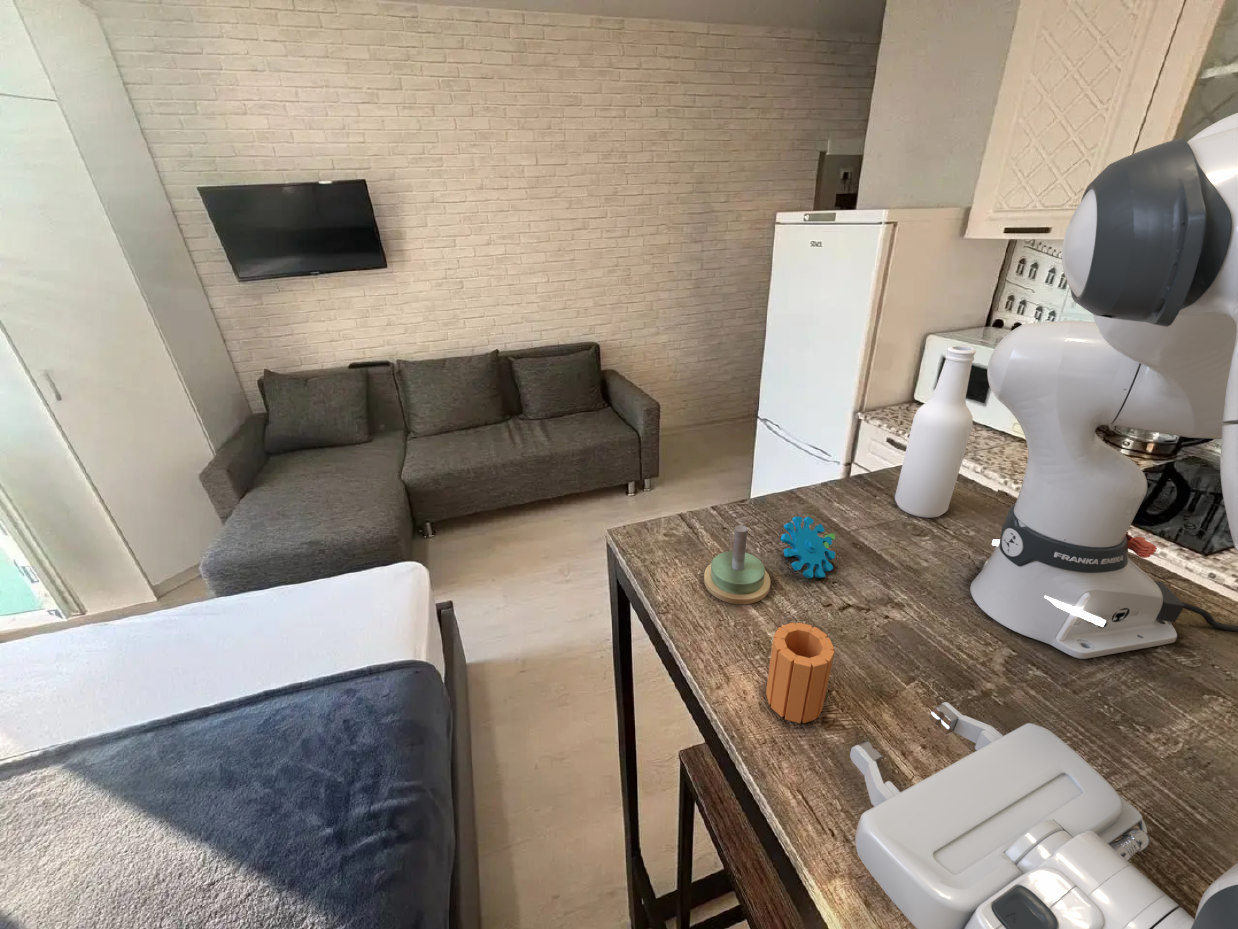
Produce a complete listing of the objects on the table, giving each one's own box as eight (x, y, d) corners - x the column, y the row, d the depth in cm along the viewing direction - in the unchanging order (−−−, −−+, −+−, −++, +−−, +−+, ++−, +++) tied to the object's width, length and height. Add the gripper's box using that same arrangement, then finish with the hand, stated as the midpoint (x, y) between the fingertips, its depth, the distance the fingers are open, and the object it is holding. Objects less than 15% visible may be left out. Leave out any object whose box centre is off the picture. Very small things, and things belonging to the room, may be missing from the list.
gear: (802, 584, 75) (777, 520, 78) (776, 591, 80) (753, 530, 83) (851, 568, 80) (826, 508, 83) (824, 575, 85) (801, 519, 88)
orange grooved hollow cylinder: (812, 676, 63) (822, 621, 59) (829, 723, 57) (842, 666, 53) (761, 677, 63) (768, 622, 59) (774, 723, 57) (782, 666, 53)
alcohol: (952, 522, 91) (1003, 356, 77) (897, 515, 93) (937, 354, 80) (940, 497, 98) (984, 342, 85) (890, 492, 101) (925, 341, 87)
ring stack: (761, 561, 83) (767, 509, 78) (777, 604, 74) (784, 548, 70) (700, 562, 83) (702, 510, 79) (708, 605, 75) (711, 549, 70)
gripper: (1184, 808, 35) (989, 664, 47) (981, 959, 29) (812, 748, 40) (1145, 858, 38) (970, 710, 50) (953, 1005, 32) (802, 795, 43)
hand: (898, 727), depth 45 cm, fingers open, 8 cm apart
